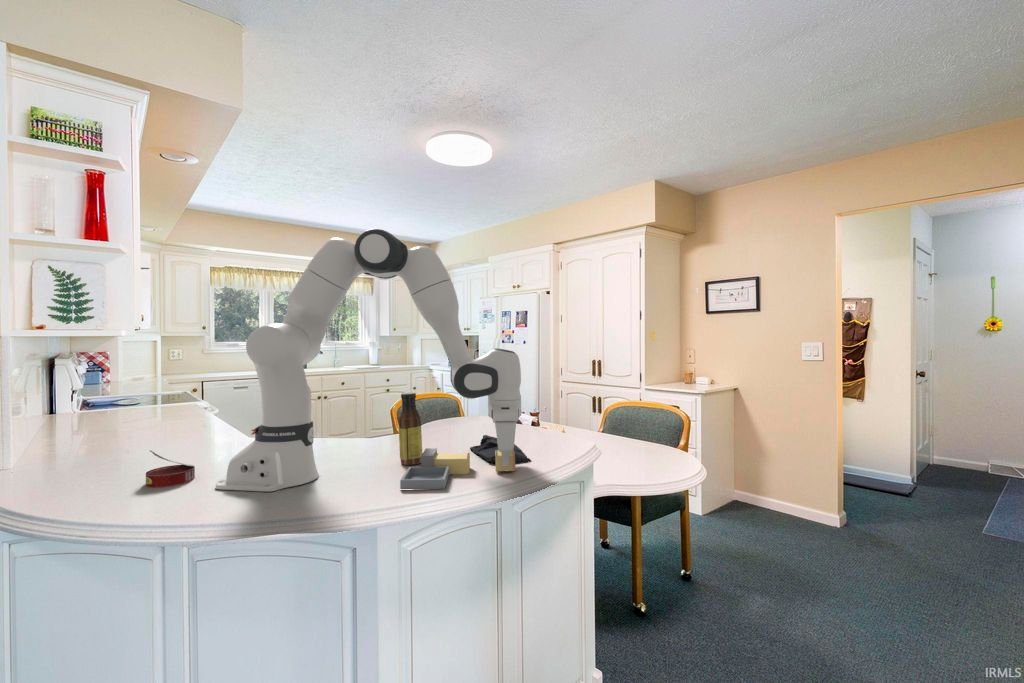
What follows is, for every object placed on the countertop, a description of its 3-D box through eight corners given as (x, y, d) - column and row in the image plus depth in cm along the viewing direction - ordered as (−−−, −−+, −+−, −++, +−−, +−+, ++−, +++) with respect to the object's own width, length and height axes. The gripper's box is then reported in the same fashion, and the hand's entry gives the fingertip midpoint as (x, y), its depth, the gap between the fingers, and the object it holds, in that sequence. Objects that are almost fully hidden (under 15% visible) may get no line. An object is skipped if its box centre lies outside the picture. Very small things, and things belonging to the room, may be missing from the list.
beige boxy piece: (421, 476, 117) (421, 455, 117) (425, 467, 125) (425, 448, 125) (468, 475, 117) (468, 455, 117) (470, 466, 125) (469, 447, 125)
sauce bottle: (425, 460, 132) (424, 391, 132) (418, 466, 126) (418, 394, 126) (403, 460, 133) (402, 391, 133) (395, 465, 127) (395, 394, 127)
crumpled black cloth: (481, 468, 126) (481, 450, 126) (468, 449, 147) (468, 435, 147) (534, 463, 130) (534, 447, 130) (514, 446, 151) (514, 432, 151)
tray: (400, 490, 105) (400, 480, 105) (409, 476, 117) (409, 466, 117) (444, 489, 106) (444, 479, 106) (449, 475, 117) (449, 466, 117)
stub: (495, 471, 118) (495, 455, 118) (495, 465, 124) (495, 449, 124) (515, 470, 119) (515, 455, 119) (514, 464, 125) (513, 449, 125)
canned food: (155, 498, 115) (160, 459, 120) (201, 490, 118) (203, 452, 122) (131, 489, 106) (136, 447, 110) (181, 481, 108) (184, 440, 112)
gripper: (492, 404, 132) (493, 452, 132) (492, 415, 111) (493, 472, 111) (514, 403, 132) (515, 451, 132) (518, 415, 112) (519, 472, 112)
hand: (505, 461), depth 122 cm, fingers closed on stub, 6 cm apart
